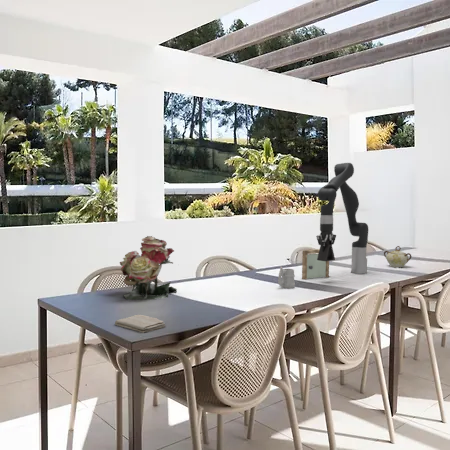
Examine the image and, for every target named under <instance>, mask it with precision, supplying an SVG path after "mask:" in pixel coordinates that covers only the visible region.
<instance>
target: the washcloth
mask: <svg viewBox="0 0 450 450" xmlns="http://www.w3.org/2000/svg"><path fill="white" fill-rule="evenodd" d="M114 325H115V326H118V327H121V328H125V329H130V330H133V331H136V332H140V333H142V334H145V333H147V332H148V333H149V332H150V333H151V332H152V331H156V330H160V329H163V328H166V326H167V325H166V323H165V321H164V320H161V319H158V318H157V317H151V316H148V315H142V314H135V315H132V316H129V317H124V318H120V319H117V320H115V322H114Z"/></svg>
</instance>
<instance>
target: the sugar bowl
mask: <svg viewBox="0 0 450 450" xmlns="http://www.w3.org/2000/svg"><path fill="white" fill-rule="evenodd" d="M398 248H399V249H398ZM401 249H402V248H401V247H400V245H397V246H396V247H395V249H394V250H392V251H388V250H385V251H384V252H383V255H384V257H385V259H386V261H387V263H388V264H389V266H390V267H391V268H395V267H402V268H404V266H406V264H408V263H409V261H410V260H411V259H412V254H411V253H409V252H408V253H406V252H404V251H402V250H401ZM386 253H387V254H386ZM408 255H409V256H408Z"/></svg>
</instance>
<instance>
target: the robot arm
mask: <svg viewBox="0 0 450 450" xmlns="http://www.w3.org/2000/svg"><path fill="white" fill-rule="evenodd" d="M333 168H334V170H333V171H334V175H335V176H334V177H332V178H331V179H330V180H329V181H328V182H327V184H326V185H324V186H322V187H320V188H319V189H318V192H317V198H318V200H320V201H323V202H325V201H328V203H326V204H322V205H321V206H320V219H319V231H320V234H318V235H316V240H317V242H318V243H317V244H318V245H319V246H322V248H321V251H322V252H324V250H325V244H326V242H327V240H331V241H332V245H334V244H335V241H336V238H337V235H336V234H334V233H333V231H334V206H335V201H336V199H337V192H338V191H339V190H340V193H341V196H342V197H341V198H342V201H343V205H344V209H345V212H346V217H347V223H348V230H349V233H350V235H351V236H353V237H358V239H357V240H356V241H353V242H352V243H351V268H350V269H351V270H350V273H352V274H355V275H356V274H357V275H365V274H367V273H368V258H367V246H368V239H369V225H368V223H366V222H358V221H357V218H356V214H357V212H358V209H359V206H360V201H359V198H358V194H357V193H356V191H355V190H354V189H353V188H352V187H351V186H350V185H349V184H348V183H347V181H348V180H349V179H350V178H352V177H353V175H354V173H355V168H354V164H353V163H351V162H342V163H336V164H335V165H334V167H333ZM323 240H324V241H323ZM323 242H324V243H323Z"/></svg>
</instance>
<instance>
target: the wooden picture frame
mask: <svg viewBox="0 0 450 450" xmlns="http://www.w3.org/2000/svg"><path fill="white" fill-rule="evenodd" d="M319 250H320V248H317V249H303V250H302V257H301V258H302V260H301V261H302V263H301V264H302V266H301V279H302V280H308V279H307V254H319ZM329 277H330V261H326V277H325V278H329Z"/></svg>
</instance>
